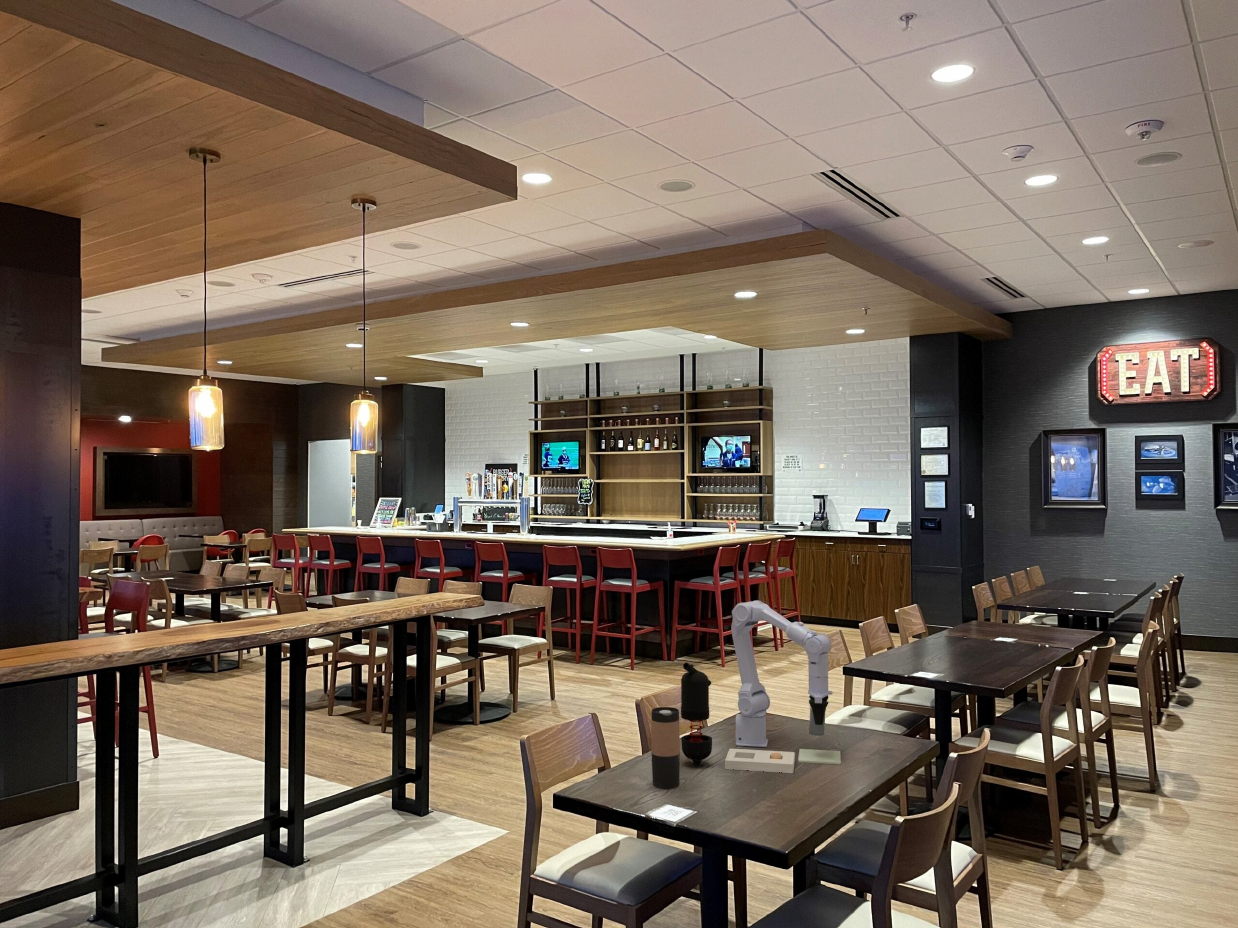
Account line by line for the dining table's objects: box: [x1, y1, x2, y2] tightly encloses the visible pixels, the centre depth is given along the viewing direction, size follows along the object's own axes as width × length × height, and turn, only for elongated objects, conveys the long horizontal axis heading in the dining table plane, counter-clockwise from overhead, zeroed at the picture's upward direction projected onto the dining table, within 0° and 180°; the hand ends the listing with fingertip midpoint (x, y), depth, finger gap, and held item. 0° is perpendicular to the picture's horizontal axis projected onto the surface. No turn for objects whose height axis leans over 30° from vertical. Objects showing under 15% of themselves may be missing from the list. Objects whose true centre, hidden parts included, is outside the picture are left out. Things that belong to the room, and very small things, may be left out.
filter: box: [680, 662, 713, 766], centre depth 263 cm, size 14×9×30 cm
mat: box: [797, 748, 842, 766], centre depth 267 cm, size 12×12×1 cm
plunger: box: [771, 753, 781, 759], centre depth 259 cm, size 3×3×2 cm
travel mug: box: [650, 706, 681, 790], centre depth 244 cm, size 8×8×20 cm
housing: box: [724, 748, 796, 774], centre depth 260 cm, size 19×12×2 cm, turn 77°
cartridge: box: [808, 705, 827, 737], centre depth 268 cm, size 5×5×8 cm
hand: (819, 722), depth 268 cm, fingers closed on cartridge, 5 cm apart
